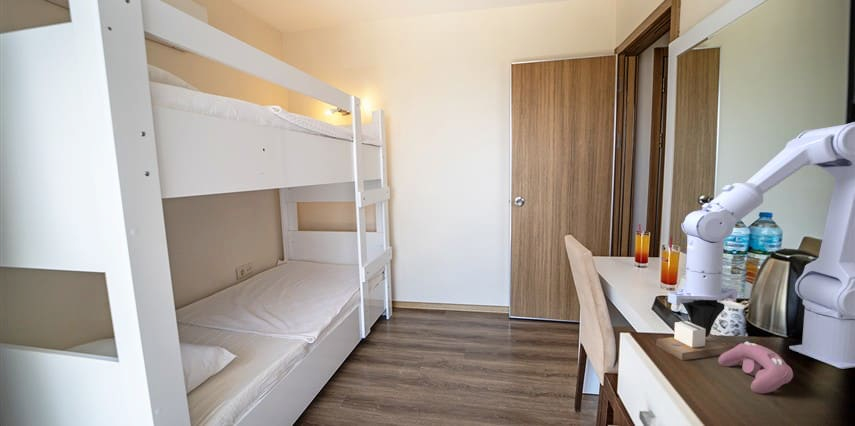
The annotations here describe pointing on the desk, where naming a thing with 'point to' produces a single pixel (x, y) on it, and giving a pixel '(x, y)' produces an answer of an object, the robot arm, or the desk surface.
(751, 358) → the video game controller
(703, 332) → the fader tab
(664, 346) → the fader board
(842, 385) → the desk surface
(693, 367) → the desk surface
